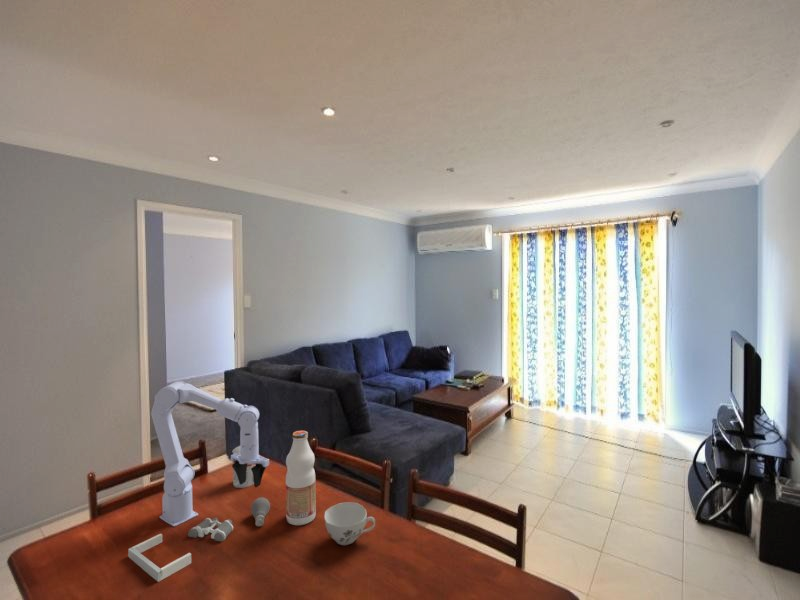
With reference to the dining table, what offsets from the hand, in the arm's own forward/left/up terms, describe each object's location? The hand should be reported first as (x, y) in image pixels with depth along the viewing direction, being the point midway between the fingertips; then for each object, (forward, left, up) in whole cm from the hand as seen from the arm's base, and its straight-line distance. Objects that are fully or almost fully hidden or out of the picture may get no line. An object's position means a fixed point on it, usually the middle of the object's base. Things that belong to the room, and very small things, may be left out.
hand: (250, 484), depth 132 cm
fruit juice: (+17, +7, -10) cm, 21 cm away
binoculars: (0, -13, -10) cm, 16 cm away
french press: (-18, +11, -10) cm, 23 cm away
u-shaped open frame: (0, -26, -9) cm, 28 cm away
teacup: (+38, +7, -10) cm, 40 cm away
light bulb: (+11, -4, -8) cm, 14 cm away
